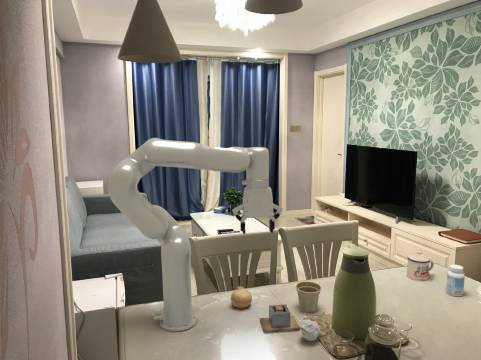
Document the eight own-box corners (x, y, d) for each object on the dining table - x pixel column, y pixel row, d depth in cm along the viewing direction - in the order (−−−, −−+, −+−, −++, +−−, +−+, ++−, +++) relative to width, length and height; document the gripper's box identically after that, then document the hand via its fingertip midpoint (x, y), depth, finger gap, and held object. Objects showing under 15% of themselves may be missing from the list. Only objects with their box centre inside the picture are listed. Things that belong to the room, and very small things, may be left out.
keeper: (264, 333, 129) (264, 314, 128) (259, 320, 137) (259, 303, 136) (299, 330, 130) (300, 312, 129) (293, 318, 138) (293, 301, 137)
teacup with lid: (414, 282, 167) (416, 256, 165) (401, 273, 176) (403, 248, 174) (439, 279, 169) (441, 253, 167) (425, 271, 178) (427, 246, 176)
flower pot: (320, 316, 139) (321, 293, 138) (294, 313, 141) (294, 291, 140) (321, 303, 148) (321, 282, 147) (296, 301, 150) (296, 280, 149)
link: (272, 328, 130) (272, 314, 129) (268, 319, 136) (269, 305, 135) (290, 326, 131) (290, 312, 130) (285, 317, 137) (286, 304, 136)
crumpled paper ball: (294, 339, 125) (295, 319, 124) (309, 332, 129) (310, 312, 128) (309, 348, 120) (309, 327, 119) (324, 340, 125) (324, 320, 123)
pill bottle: (463, 292, 157) (466, 265, 155) (462, 298, 152) (465, 270, 150) (446, 288, 160) (448, 262, 158) (444, 294, 155) (447, 267, 153)
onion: (255, 303, 149) (255, 285, 148) (245, 312, 142) (245, 294, 141) (237, 299, 153) (236, 281, 152) (226, 307, 146) (226, 289, 145)
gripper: (233, 186, 129) (233, 236, 132) (285, 184, 131) (284, 234, 134) (231, 182, 136) (231, 230, 139) (280, 181, 138) (279, 228, 141)
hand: (257, 232), depth 136 cm, fingers open, 9 cm apart
